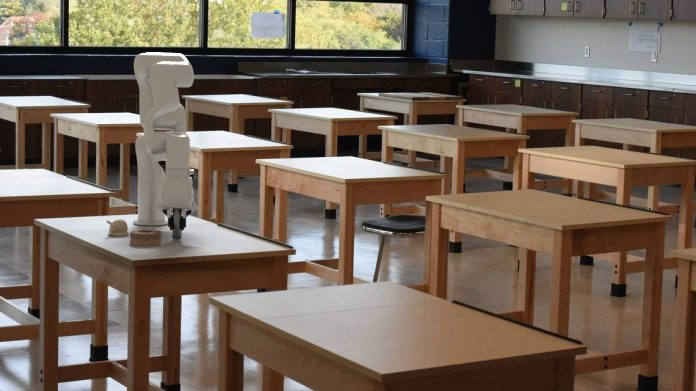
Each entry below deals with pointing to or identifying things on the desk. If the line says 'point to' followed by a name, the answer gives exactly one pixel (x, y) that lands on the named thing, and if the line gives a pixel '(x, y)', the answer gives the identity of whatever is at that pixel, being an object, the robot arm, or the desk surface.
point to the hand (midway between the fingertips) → (177, 229)
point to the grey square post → (176, 224)
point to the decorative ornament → (118, 228)
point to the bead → (145, 237)
